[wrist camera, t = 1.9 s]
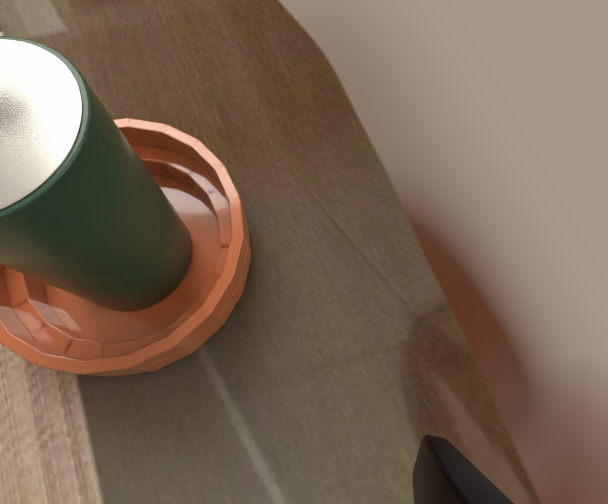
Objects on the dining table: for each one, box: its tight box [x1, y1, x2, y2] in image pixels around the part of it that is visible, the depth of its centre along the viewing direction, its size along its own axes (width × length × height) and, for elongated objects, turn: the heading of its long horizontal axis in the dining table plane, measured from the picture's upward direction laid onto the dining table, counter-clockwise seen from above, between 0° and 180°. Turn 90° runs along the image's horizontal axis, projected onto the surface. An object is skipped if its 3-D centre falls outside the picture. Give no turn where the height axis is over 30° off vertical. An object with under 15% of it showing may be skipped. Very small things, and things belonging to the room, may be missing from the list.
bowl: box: [0, 118, 251, 377], centre depth 22 cm, size 13×13×4 cm
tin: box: [0, 36, 192, 311], centre depth 17 cm, size 7×7×12 cm
